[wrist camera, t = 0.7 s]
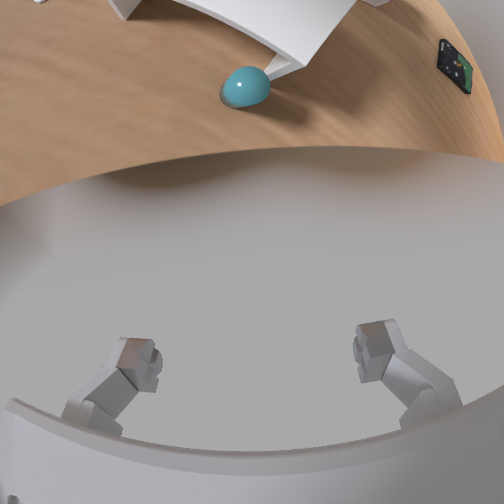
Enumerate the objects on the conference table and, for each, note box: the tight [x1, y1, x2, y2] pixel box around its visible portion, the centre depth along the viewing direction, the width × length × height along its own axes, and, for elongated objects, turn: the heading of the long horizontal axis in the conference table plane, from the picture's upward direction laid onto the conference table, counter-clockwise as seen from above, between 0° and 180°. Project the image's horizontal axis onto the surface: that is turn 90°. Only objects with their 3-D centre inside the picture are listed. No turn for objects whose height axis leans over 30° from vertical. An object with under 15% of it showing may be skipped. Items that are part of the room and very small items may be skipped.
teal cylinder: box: [220, 66, 270, 109], centre depth 36 cm, size 6×6×12 cm
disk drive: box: [437, 39, 473, 94], centre depth 42 cm, size 10×3×15 cm
